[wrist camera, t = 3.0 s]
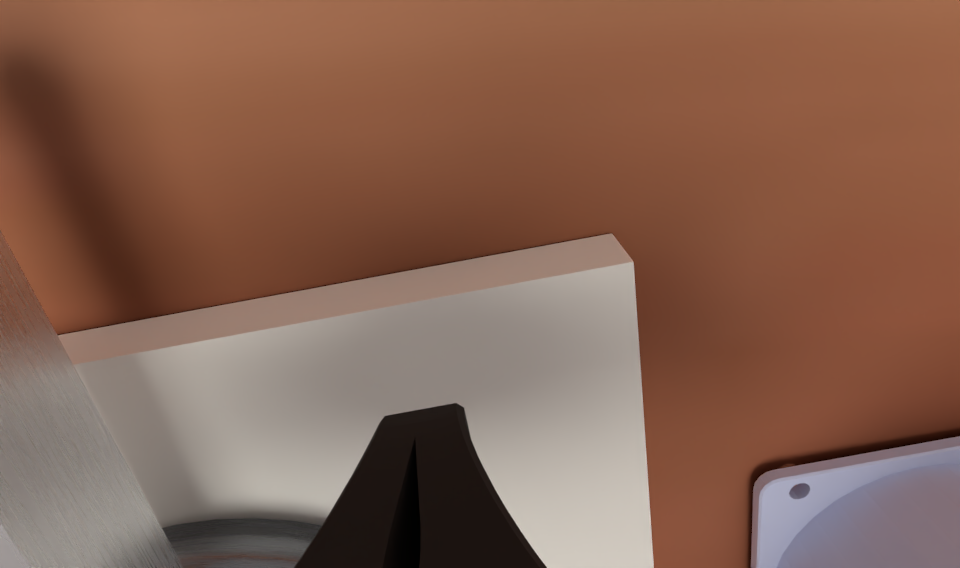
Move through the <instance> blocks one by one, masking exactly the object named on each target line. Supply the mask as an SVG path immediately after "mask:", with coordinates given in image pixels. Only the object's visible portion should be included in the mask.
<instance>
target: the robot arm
mask: <svg viewBox="0 0 960 568" xmlns="http://www.w3.org/2000/svg"><path fill="white" fill-rule="evenodd" d="M795 485H796V486H795ZM294 568H547V567H546V566H545V564H544V563H543V562H542V560H541V559H540V558H539V556H538V555H537V554H536V552H535V551H534V549H533V548H532V547H531V545H530V544H529V542H528V541H527V539H526V538H525V537H524V535H523V534H522V532H521V531H520V529H519V528H518V526H517V524H516V523H515V521H514V520H513V518H512V517H511V515H510V513H509V512H508V510H507V509H506V507H505V505H504V504H503V502H502V500H501V499H500V497H499V495H498V494H497V492H496V490H495V488H494V486H493V484H492V482H491V481H490V479H489V477H488V475H487V473H486V471H485V469H484V467H483V465H482V463H481V461H480V459H479V457H478V455H477V452H476V450H475V448H474V445H473V443H472V440H471V437H470V432H469V428H468V423H467V419H466V414H465V410H464V407H462V406H461V405H459V404H457V403H453V404H447V405H442V406H436V407H431V408H425V409H420V410H414V411H409V412H403V413H398V414H392V415H387V416H384V418H383V419H382V420H381V421H380V423H379V425H378V427H377V429H376V431H375V433H374V435H373V437H372V439H371V441H370V442H369V444H368V446H367V448H366V450H365V452H364V454H363V456H362V458H361V459H360V461H359V463H358V465H357V467H356V469H355V470H354V472H353V474H352V476H351V478H350V479H349V481H348V483H347V484H346V486H345V488H344V490H343V491H342V493H341V495H340V496H339V498H338V500H337V501H336V503H335V505H334V507H333V508H332V510H331V512H330V513H329V515H328V517H327V518H326V520H325V521H324V523H323V524H322V526H321V527H320V529H319V530H318V532H317V533H316V535H315V536H314V538H313V539H312V541H311V542H310V544H309V546H308V547H307V549H306V550H305V552H304V553H303V555H302V556H301V558H300V559H299V561H298V562H297V564H296V565H295V566H294ZM751 568H960V436H958V437H953V438H947V439H941V440H936V441H930V442H925V443H919V444H914V445H908V446H903V447H897V448H892V449H886V450H880V451H875V452H869V453H864V454H858V455H853V456H847V457H842V458H836V459H831V460H825V461H819V462H814V463H808V464H803V465H797V466H792V467H786V468H781V469H775V470H771V471H768V472H765V473H764V474H762V475H761V476H760V477H759V478H758V479H757V480H756V482H755V484H754V488H753V514H752V545H751Z"/></svg>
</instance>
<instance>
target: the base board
mask: <svg viewBox="0 0 960 568" xmlns="http://www.w3.org/2000/svg"><path fill="white" fill-rule="evenodd" d="M57 336H58V337H59V339H60V341H61V343H62V345H63V347H64V349H65V350H66V352H67V354H68V356H69V358H70V360H71V361H72V363H73V365H74V367H75V369H76V371H77V373H78V374H79V376H80V378H81V380H82V382H83V384H84V385H85V387H86V389H87V391H88V393H89V395H90V396H91V398H92V400H93V402H94V404H95V406H96V408H97V409H98V411H99V413H100V415H101V417H102V419H103V420H104V422H105V424H106V426H107V428H108V430H109V432H110V433H111V435H112V437H113V439H114V441H115V443H116V444H117V446H118V448H119V450H120V452H121V454H122V455H123V457H124V459H125V461H126V463H127V465H128V467H129V468H130V470H131V472H132V474H133V476H134V478H135V479H136V481H137V483H138V485H139V487H140V489H141V491H142V492H143V494H144V496H145V498H146V500H147V502H148V503H149V505H150V507H151V509H152V511H153V513H154V514H155V516H156V518H157V520H158V522H159V524H160V526H161V527H162V528H164V527H168V526H172V525H177V524H184V523H191V522H199V521H207V520H214V519H243V518H259V519H274V520H290V521H297V522H304V523H310V524H316V525H322V524H323V523H324V521H325V520H326V518H327V517H328V515H329V513H330V512H331V510H332V508H333V507H334V505H335V503H336V501H337V500H338V498H339V496H340V495H341V493H342V491H343V490H344V488H345V486H346V484H347V483H348V481H349V479H350V478H351V476H352V474H353V472H354V470H355V469H356V467H357V465H358V463H359V461H360V459H361V458H362V456H363V454H364V452H365V450H366V448H367V446H368V444H369V442H370V441H371V439H372V437H373V435H374V433H375V431H376V429H377V427H378V425H379V423H380V421H381V420H382V419H383V418H384V416H387V415H392V414H398V413H403V412H409V411H414V410H420V409H425V408H431V407H436V406H442V405H447V404H453V403H457V404H459V405H461V406H462V407H464V410H465V414H466V419H467V423H468V428H469V432H470V437H471V440H472V443H473V445H474V448H475V450H476V452H477V455H478V457H479V459H480V461H481V463H482V465H483V467H484V469H485V471H486V473H487V475H488V477H489V479H490V481H491V482H492V484H493V486H494V488H495V490H496V492H497V494H498V495H499V497H500V499H501V500H502V502H503V504H504V505H505V507H506V509H507V510H508V512H509V513H510V515H511V517H512V518H513V520H514V521H515V523H516V524H517V526H518V528H519V529H520V531H521V532H522V534H523V535H524V537H525V538H526V539H527V541H528V542H529V544H530V545H531V547H532V548H533V549H534V551H535V552H536V554H537V555H538V556H539V558H540V559H541V560H542V562H543V563H544V564H545V566H546V567H547V568H654V562H653V547H652V532H651V517H650V502H649V487H648V472H647V457H646V442H645V427H644V411H643V396H642V381H641V366H640V351H639V336H638V321H637V306H636V291H635V275H634V262H633V260H632V259H631V258H630V256H629V255H628V254H627V252H626V251H625V250H624V248H623V247H622V246H621V244H620V243H619V242H618V241H617V239H616V238H615V237H614V235H613V234H612V233H611V234H605V235H600V236H594V237H589V238H583V239H578V240H573V241H567V242H562V243H556V244H551V245H545V246H540V247H535V248H529V249H524V250H518V251H513V252H507V253H502V254H497V255H491V256H486V257H480V258H475V259H469V260H464V261H459V262H453V263H448V264H442V265H437V266H431V267H426V268H421V269H415V270H410V271H404V272H399V273H393V274H388V275H383V276H377V277H372V278H366V279H361V280H355V281H350V282H345V283H339V284H334V285H328V286H323V287H317V288H312V289H307V290H301V291H296V292H290V293H285V294H279V295H274V296H269V297H263V298H258V299H252V300H247V301H241V302H236V303H231V304H225V305H220V306H214V307H209V308H203V309H198V310H193V311H187V312H182V313H176V314H171V315H165V316H160V317H155V318H149V319H144V320H138V321H133V322H127V323H122V324H117V325H111V326H106V327H100V328H95V329H89V330H84V331H79V332H73V333H68V334H62V335H57Z"/></svg>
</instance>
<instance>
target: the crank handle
mask: <svg viewBox="0 0 960 568" xmlns="http://www.w3.org/2000/svg"><path fill="white" fill-rule="evenodd" d="M321 526H322V525H316V524H310V523H304V522H297V521H290V520H274V519H259V518H243V519H214V520H207V521H199V522H191V523H184V524H177V525H172V526H168V527H164V528H162V527H161V526H160V524H159V522H158V520H157V518H156V516H155V514H154V513H153V511H152V509H151V507H150V505H149V503H148V502H147V500H146V498H145V496H144V494H143V492H142V491H141V489H140V487H139V485H138V483H137V481H136V479H135V478H134V476H133V474H132V472H131V470H130V468H129V467H128V465H127V463H126V461H125V459H124V457H123V455H122V454H121V452H120V450H119V448H118V446H117V444H116V443H115V441H114V439H113V437H112V435H111V433H110V432H109V430H108V428H107V426H106V424H105V422H104V420H103V419H102V417H101V415H100V413H99V411H98V409H97V408H96V406H95V404H94V402H93V400H92V398H91V396H90V395H89V393H88V391H87V389H86V387H85V385H84V384H83V382H82V380H81V378H80V376H79V374H78V373H77V371H76V369H75V367H74V365H73V363H72V361H71V360H70V358H69V356H68V354H67V352H66V350H65V349H64V347H63V345H62V343H61V341H60V339H59V337H58V336H57V334H56V332H55V330H54V328H53V326H52V325H51V323H50V321H49V319H48V317H47V315H46V313H45V312H44V310H43V308H42V306H41V304H40V302H39V301H38V299H37V297H36V295H35V293H34V291H33V290H32V288H31V286H30V284H29V282H28V280H27V278H26V277H25V275H24V273H23V271H22V269H21V267H20V266H19V264H18V262H17V260H16V258H15V256H14V254H13V253H12V251H11V249H10V247H9V245H8V243H7V242H6V240H5V238H4V236H3V234H2V232H1V231H0V568H294V566H295V565H296V564H297V562H298V561H299V559H300V558H301V556H302V555H303V553H304V552H305V550H306V549H307V547H308V546H309V544H310V542H311V541H312V539H313V538H314V536H315V535H316V533H317V532H318V530H319V529H320V527H321Z"/></svg>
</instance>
